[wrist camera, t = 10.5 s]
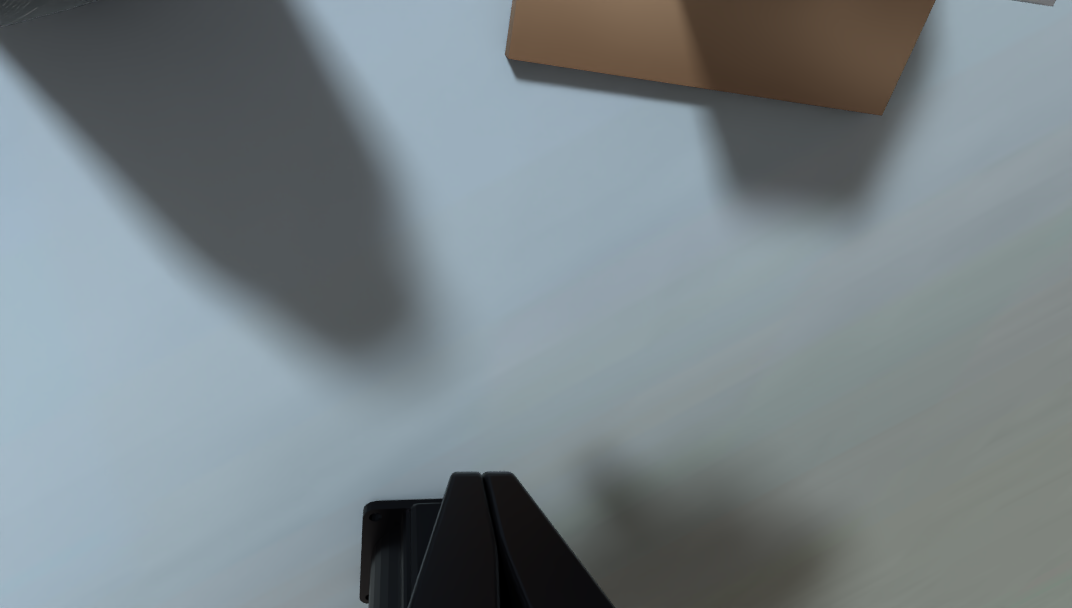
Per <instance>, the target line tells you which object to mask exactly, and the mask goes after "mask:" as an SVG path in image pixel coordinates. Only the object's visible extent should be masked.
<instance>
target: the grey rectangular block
mask: <svg viewBox="0 0 1072 608" xmlns="http://www.w3.org/2000/svg"><path fill="white" fill-rule="evenodd" d="M1013 1H1020V2H1026V3H1033V4H1040V5H1046V6H1053V5H1054V3H1055V1H1056V0H1013Z"/></svg>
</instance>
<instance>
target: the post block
mask: <svg viewBox="0 0 1072 608" xmlns="http://www.w3.org/2000/svg"><path fill="white" fill-rule="evenodd" d="M935 1H936V0H513V1H512V8H511V15H510V22H509V30H508V37H507V44H506V51H505V55H506V56H507V58H508V59H513V60H520V61H526V62H533V63H539V64H546V65H553V66H559V67H566V68H572V69H579V70H585V71H592V72H599V73H605V74H612V75H618V76H625V77H631V78H638V79H645V80H651V81H658V82H664V83H671V84H677V85H684V86H691V87H697V88H704V89H710V90H717V91H723V92H730V93H737V94H743V95H750V96H756V97H763V98H769V99H776V100H783V101H789V102H796V103H802V104H809V105H815V106H822V107H829V108H835V109H842V110H848V111H855V112H861V113H868V114H875V115H881V116H882V114H883V112H884V110H885V108H886V106H887V104H888V101H889V99H890V97H891V95H892V93H893V91H894V89H895V86H896V84H897V82H898V80H899V78H900V76H901V73H902V71H903V69H904V67H905V65H906V63H907V61H908V58H909V56H910V54H911V52H912V50H913V48H914V46H915V43H916V41H917V39H918V37H919V35H920V33H921V31H922V28H923V26H924V24H925V22H926V20H927V18H928V16H929V13H930V11H931V9H932V7H933V5H934V3H935Z"/></svg>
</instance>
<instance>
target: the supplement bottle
mask: <svg viewBox="0 0 1072 608" xmlns="http://www.w3.org/2000/svg"><path fill="white" fill-rule="evenodd" d="M94 1H97V0H0V27H4V26H8V25H11V24H15V23H19V22H23V21H27V20H30V19H34V18H38V17H42V16H46V15H50V14H53V13H57V12H61V11H65V10H69V9H72V8H75V7H78V6H81V5H85V4H88V3H91V2H94Z"/></svg>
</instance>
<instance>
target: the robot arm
mask: <svg viewBox="0 0 1072 608" xmlns="http://www.w3.org/2000/svg"><path fill="white" fill-rule="evenodd" d="M375 513H376V514H375ZM360 600H361V601H362V602H363V603H369V608H615V607H614V605H613V604H612V603H611V601H610V600H609V599H608V597H607V596H606V595H605V594H604V592H603V591H602V590H601V588H600V587H599V586H598V584H597V583H596V582H595V580H594V579H593V578H592V576H591V575H590V574H589V572H588V571H587V570H586V568H585V567H584V566H583V565H582V563H581V562H580V561H579V559H578V558H577V557H576V555H575V554H574V553H573V551H572V550H571V549H570V547H569V546H568V545H567V543H566V542H565V541H564V540H563V538H562V537H561V536H560V534H559V533H558V532H557V530H556V529H555V528H554V526H553V525H552V524H551V522H550V521H549V520H548V518H547V517H546V516H545V514H544V513H543V512H542V511H541V509H540V508H539V507H538V505H537V504H536V503H535V501H534V500H533V499H532V497H531V496H530V495H529V493H528V492H527V491H526V489H525V488H524V487H523V485H522V484H521V483H520V482H519V480H518V479H517V478H516V476H515V475H514V474H513V473H511V472H507V471H503V472H485V473H483V474H482V475H481V474H480V473H479V472H454V473H452V475H451V476H450V479H449V482H448V485H447V488H446V491H445V494H444V497H443V499H431V500H399V501H375V502H370V503H368V504H367V505H366V506H365V507H364V509H363V525H362V550H361V575H360Z"/></svg>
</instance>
